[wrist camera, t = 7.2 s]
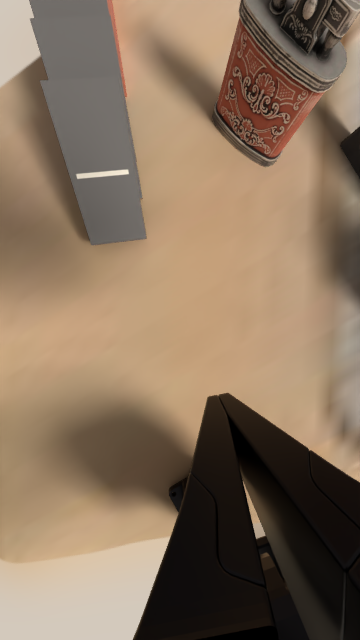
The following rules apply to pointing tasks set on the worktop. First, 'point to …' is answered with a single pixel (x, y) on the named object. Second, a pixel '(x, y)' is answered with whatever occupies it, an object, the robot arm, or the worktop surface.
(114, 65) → the domino
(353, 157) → the ammunition clip
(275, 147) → the lighter
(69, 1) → the domino
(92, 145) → the domino
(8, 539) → the worktop surface
